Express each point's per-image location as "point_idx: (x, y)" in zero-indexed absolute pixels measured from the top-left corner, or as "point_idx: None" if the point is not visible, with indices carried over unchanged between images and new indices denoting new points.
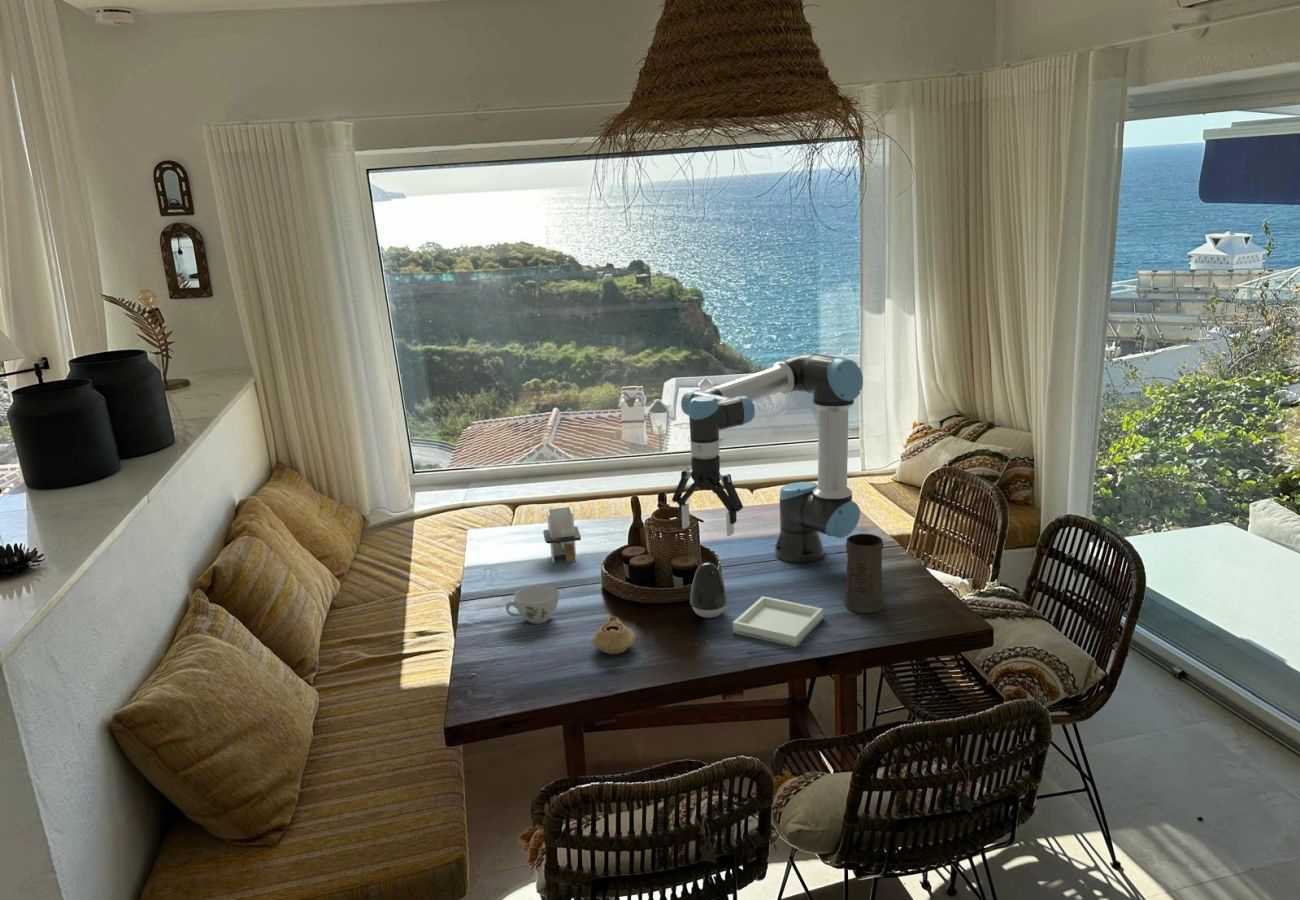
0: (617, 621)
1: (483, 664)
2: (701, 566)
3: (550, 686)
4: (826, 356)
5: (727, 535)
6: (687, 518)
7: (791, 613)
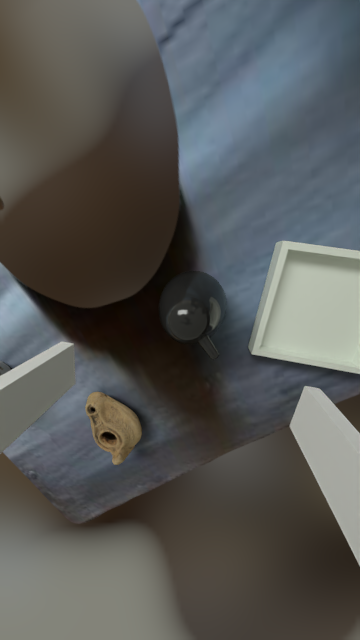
0: (104, 423)
1: (27, 459)
2: (175, 335)
3: (104, 480)
4: None
5: (293, 429)
6: (42, 383)
7: (340, 269)
